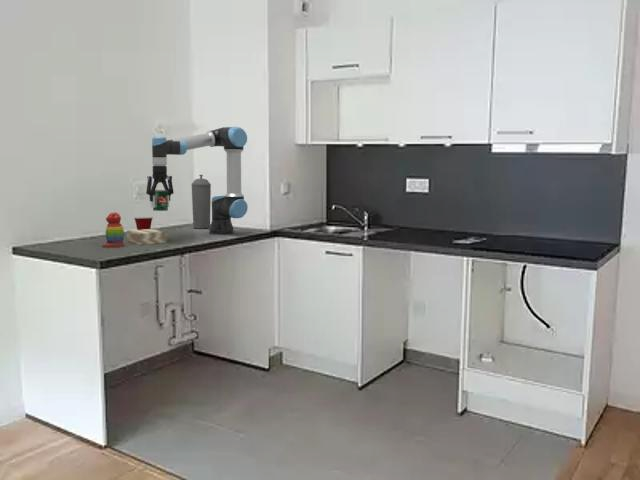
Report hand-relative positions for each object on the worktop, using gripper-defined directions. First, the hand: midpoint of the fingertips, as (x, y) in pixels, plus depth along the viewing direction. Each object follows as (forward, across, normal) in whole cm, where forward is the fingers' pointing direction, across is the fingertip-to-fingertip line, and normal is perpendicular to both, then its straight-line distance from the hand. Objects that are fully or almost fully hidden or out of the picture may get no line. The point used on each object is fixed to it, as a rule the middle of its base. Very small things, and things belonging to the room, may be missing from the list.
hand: (160, 207), depth 340 cm
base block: (+20, +6, -6) cm, 21 cm away
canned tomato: (+2, 0, 0) cm, 2 cm away
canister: (+19, -51, -43) cm, 69 cm away
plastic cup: (+20, -2, -25) cm, 32 cm away
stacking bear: (+20, +26, -2) cm, 32 cm away
